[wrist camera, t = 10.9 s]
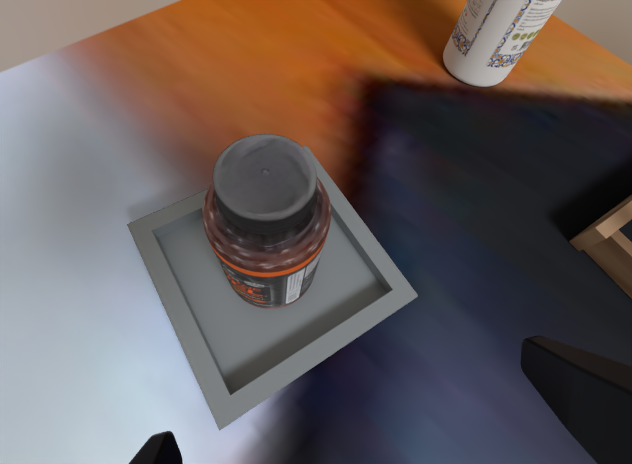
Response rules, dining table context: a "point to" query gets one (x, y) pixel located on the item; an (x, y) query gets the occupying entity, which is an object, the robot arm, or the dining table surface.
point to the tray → (259, 323)
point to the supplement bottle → (267, 219)
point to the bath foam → (493, 38)
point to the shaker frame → (610, 244)
